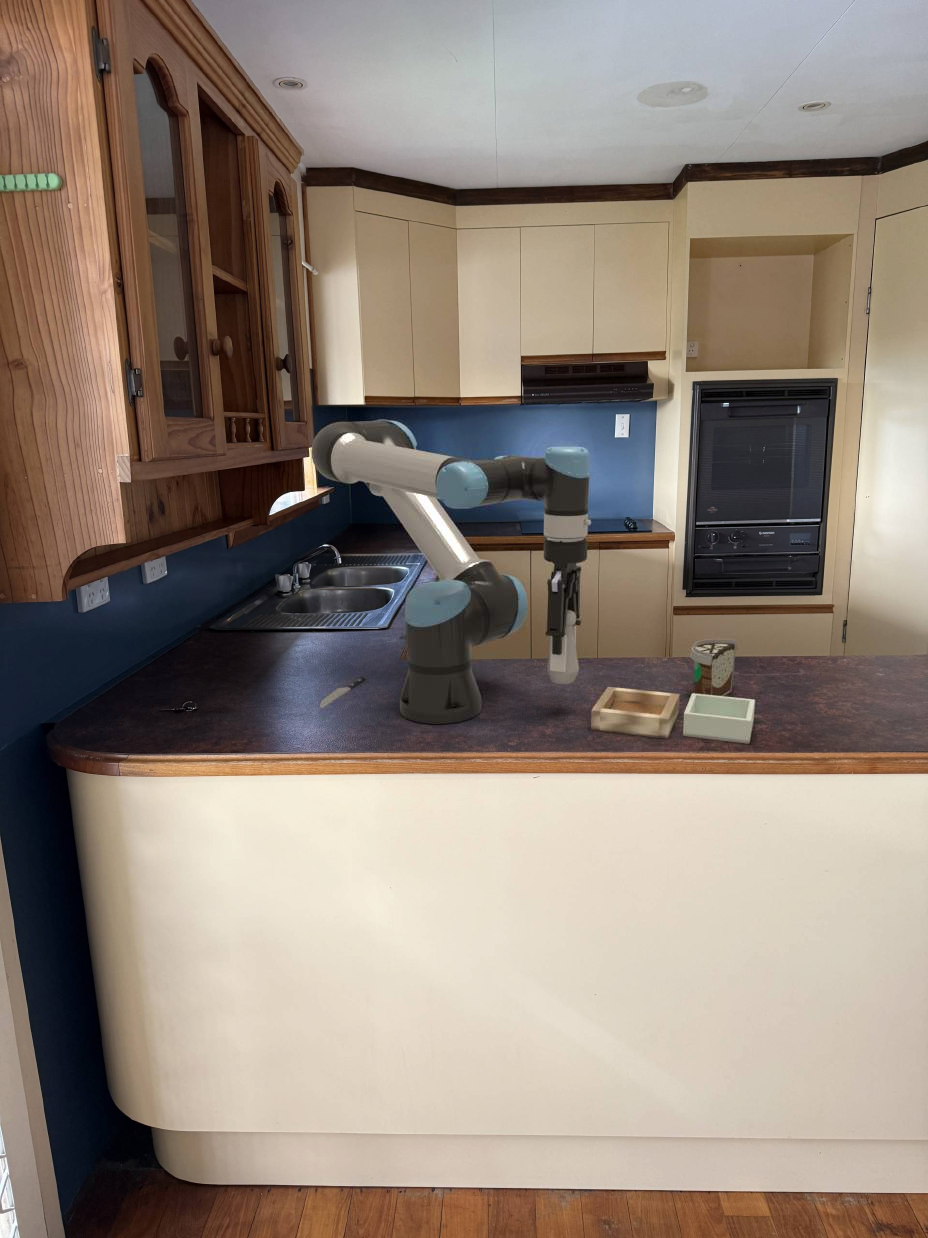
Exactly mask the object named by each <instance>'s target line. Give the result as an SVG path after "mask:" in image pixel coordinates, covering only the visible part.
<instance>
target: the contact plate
mask: <svg viewBox="0 0 928 1238" xmlns="http://www.w3.org/2000/svg"><path fill="white" fill-rule="evenodd" d="M611 709H612V710H620V711H629V712H638V713H647V714H655V715H661V714H662V712H663V709H664V706H655V705H646V704H637V703H628V702H619V701H615V703H614V704H613V706H612V707H611Z"/></svg>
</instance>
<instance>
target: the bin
mask: <svg viewBox="0 0 928 1238" xmlns="http://www.w3.org/2000/svg"><path fill="white" fill-rule="evenodd" d="M755 704H756V700H755V699H751V698H742V697H731V696H714V695H705V694H695V692H692V693H691V695H690V697H689V700H688V703H687V705H686V708H685V710H684V712H683V730H682V736H683V737H690V738H698V739H705V740H715V741H722V742H730V743H739V744H749V745H750V743H751V736H752V732H753V726H754V717H755V706H756V705H755Z"/></svg>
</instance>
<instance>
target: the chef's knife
mask: <svg viewBox="0 0 928 1238" xmlns="http://www.w3.org/2000/svg"><path fill="white" fill-rule="evenodd" d="M366 679H367V677H366V676H360V677H359V678H358V679H357V680H355V682H353V683H351V684H349V685H348V686H345V687H339V688H336V689H335V690H333V691H332V692H330V694H328V695H327V696H326V697H325V698H323V699H322V700H321V702H320V704H319V706H320V708H324V707H326V706H328V705H330V704H331V703H333V702H334V701H336V700H338V699H339V698H340V697H342V696H344V695H345V694H346V693H348V692H349V691H351V690H352V689H354V688H356V687H357V686H359V685H360V684H362V683H363V682H365V681H366Z"/></svg>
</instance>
